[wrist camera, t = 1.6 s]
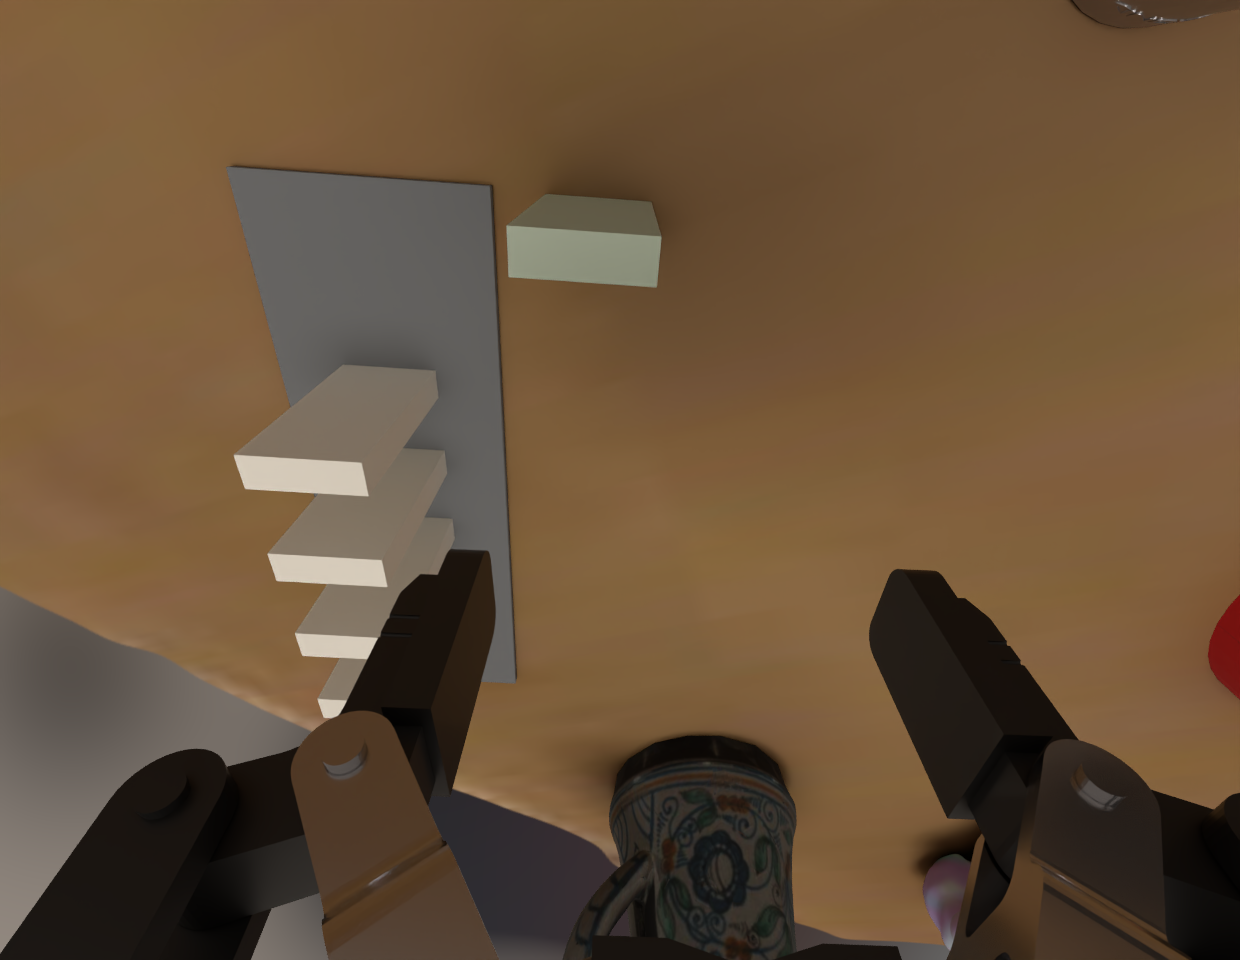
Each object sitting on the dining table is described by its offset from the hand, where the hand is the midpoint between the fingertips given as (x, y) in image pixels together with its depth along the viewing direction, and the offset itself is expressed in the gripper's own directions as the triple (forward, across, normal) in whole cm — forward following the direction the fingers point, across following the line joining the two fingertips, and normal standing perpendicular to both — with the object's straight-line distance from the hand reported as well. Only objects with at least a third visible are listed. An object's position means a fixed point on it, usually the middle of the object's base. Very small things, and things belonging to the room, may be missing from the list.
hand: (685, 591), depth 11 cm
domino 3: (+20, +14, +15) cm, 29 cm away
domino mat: (+21, +14, +12) cm, 28 cm away
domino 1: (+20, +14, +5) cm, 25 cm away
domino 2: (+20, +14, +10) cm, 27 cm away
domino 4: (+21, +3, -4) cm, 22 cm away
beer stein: (+21, -6, +44) cm, 49 cm away
